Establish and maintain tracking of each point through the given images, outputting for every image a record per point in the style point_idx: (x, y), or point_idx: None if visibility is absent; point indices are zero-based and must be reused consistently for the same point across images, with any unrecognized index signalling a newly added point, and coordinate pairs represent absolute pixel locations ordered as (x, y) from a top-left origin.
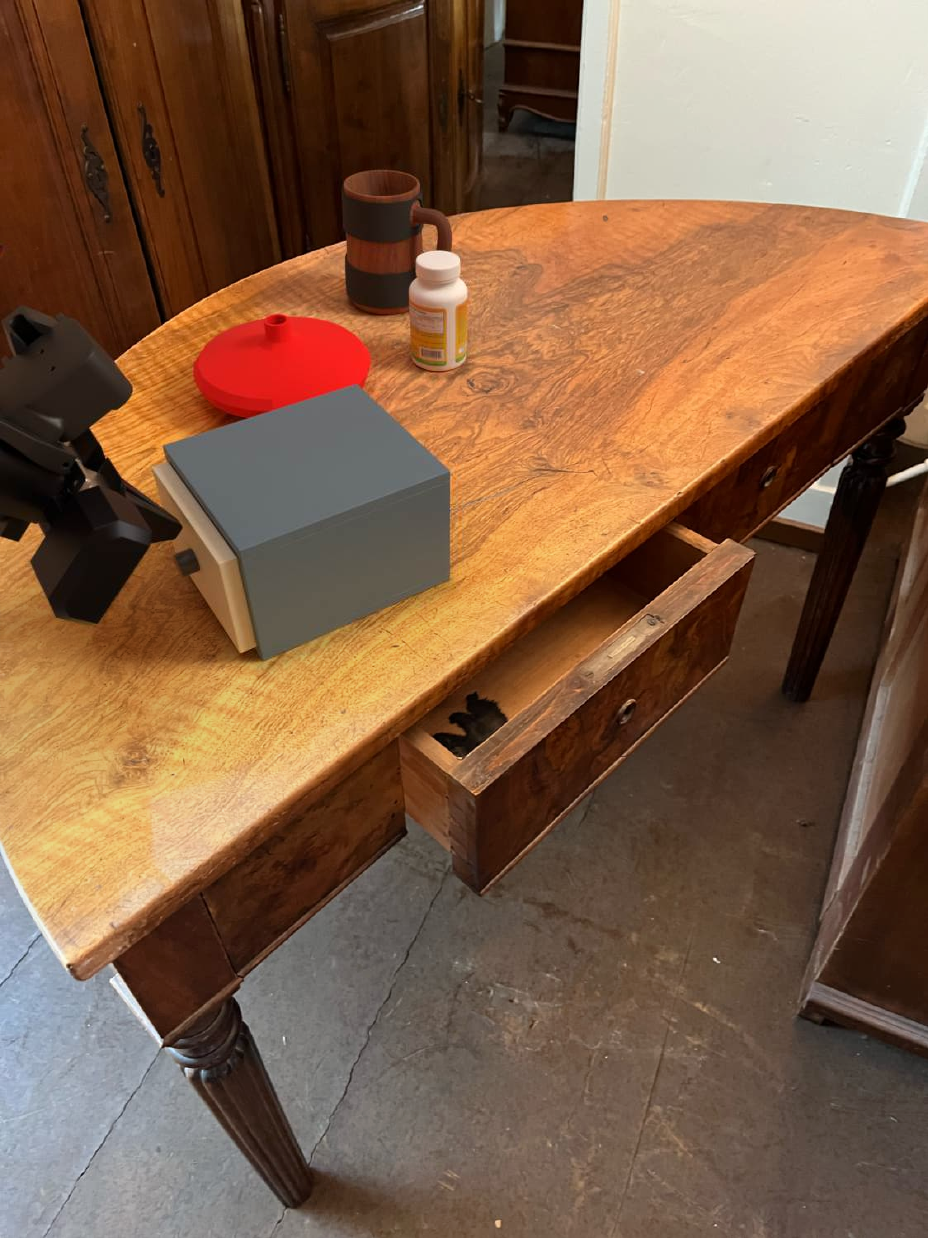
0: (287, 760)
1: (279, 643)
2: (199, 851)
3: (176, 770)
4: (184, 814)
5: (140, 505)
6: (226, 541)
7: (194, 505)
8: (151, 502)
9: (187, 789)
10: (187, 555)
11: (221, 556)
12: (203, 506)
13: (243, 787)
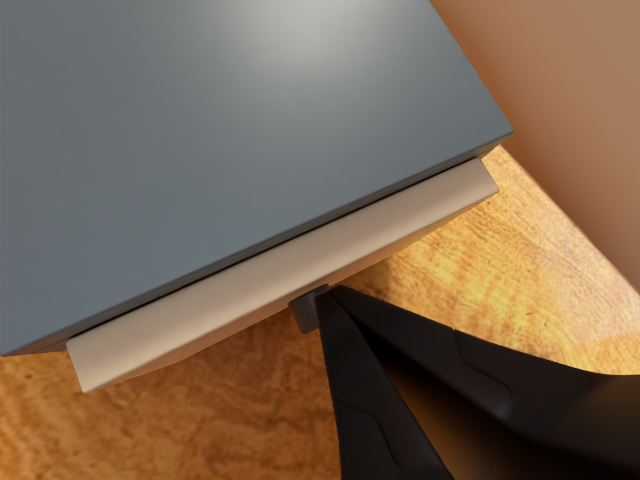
0: (521, 208)
1: None
2: (621, 288)
3: (540, 321)
4: (587, 307)
5: (500, 346)
6: None
7: (300, 248)
8: (357, 343)
9: (561, 306)
10: None
11: (477, 185)
12: (330, 218)
13: (553, 250)
